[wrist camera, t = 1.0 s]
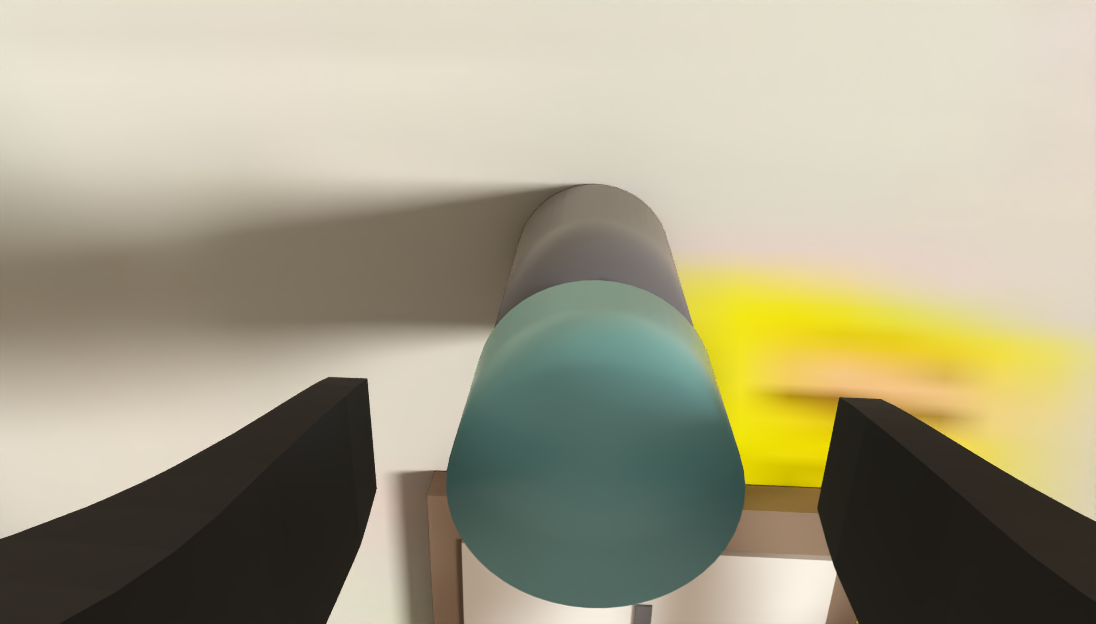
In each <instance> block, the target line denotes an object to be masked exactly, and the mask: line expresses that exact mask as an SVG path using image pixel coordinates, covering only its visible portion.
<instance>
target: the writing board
mask: <svg viewBox="0 0 1096 624" xmlns="http://www.w3.org/2000/svg"><path fill="white" fill-rule="evenodd" d="M446 475H447V472H443V471H435V472H434V475H433V478H432V481H431V484H430V488H429V491H428V494H427V505H428V525H429V544H430V563H431V582H432V601H433V620H434V624H856V621H857V618H856V616H855V614H854V611H853V609H852V607H851V605H850V602H849V600H848V598H847V596H846V593H845V591H844V589H843V587H842V584H841V582H840V580H839V578H838V575H837V573H836V571H835V568H834V565H833V562H832V559H831V556H830V552H829V549H828V546H827V543H826V539H825V536H824V532H823V528H822V525H821V521H820V517H819V514H818V510H817V506H818V501H819V496H820V491H821V488H801V487H779V486H757V485H745V498H744V506H743V510H742V514H741V518H740V521H739V524H738V526H737V528H736V531H735V533H734V535H733V537H732V539H731V540H730V542H729V544H728V545H727V547H726V548H725V550H724V551H723V552H722V553H721V555H720V556H719V557H718V558H717V560H716V561H715V562H714V563H713V564H712V565H711V566H710V567H708V568H707V569H706V570H705V571H704V572H703V573H702V574H700V575H699V576H698V577H696V578H695V579H694V580H692V581H691V582H690V583H688V584H686V585H684V586H682V587H681V588H679V589H677V590H675V591H673V592H671V593H669V594H666V595H664V596H662V597H659V598H656V599H653V600H650V601H647V602H643V603H639V604H634V605H629V606H624V607H613V608H582V607H573V606H567V605H562V604H557V603H552V602H549V601H546V600H543V599H540V598H536V597H534V596H531V595H529V594H527V593H525V592H522V591H520V590H518V589H516V588H514V587H513V586H511V585H509V584H507V583H506V582H504V581H503V580H501V579H500V578H498V577H497V576H496V575H494V574H493V573H492V572H490V571H489V570H488V569H487V568H486V567H485V566H484V565H483V564H482V563H481V562H479V561H478V560H477V558H476V557H475V556H474V555H473V554H472V552H471V551H470V550H469V549H468V548H467V546H466V544H465V543H464V541H463V540H462V538H461V537H460V535H459V533H458V531H457V529H456V527H455V524H454V522H453V520H452V517H451V513H450V510H449V506H448V501H447V492H446Z"/></svg>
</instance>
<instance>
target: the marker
mask: <svg viewBox="0 0 1096 624" xmlns="http://www.w3.org/2000/svg"><path fill="white" fill-rule="evenodd" d="M446 492H447V501H448V506H449V510H450V513H451V517H452V520H453V522H454V524H455V527H456V529H457V531H458V533H459V535H460V537H461V538H462V540H463V541H464V543H465V544H466V546H467V548H468V549H469V550H470V551H471V552H472V554H473V555H474V556H475V557H476V558H477V560H478V561H479V562H481V563H482V564H483V565H484V566H485V567H486V568H487V569H488V570H489V571H490V572H492V573H493V574H494V575H496V576H497V577H498V578H500V579H501V580H503V581H504V582H506V583H507V584H509V585H511V586H513V587H514V588H516V589H518V590H520V591H522V592H525V593H527V594H529V595H531V596H534V597H536V598H540V599H543V600H546V601H549V602H552V603H557V604H562V605H567V606H573V607H582V608H613V607H624V606H629V605H634V604H639V603H643V602H647V601H650V600H653V599H656V598H659V597H662V596H664V595H666V594H669V593H671V592H673V591H675V590H677V589H679V588H681V587H682V586H684V585H686V584H688V583H690V582H691V581H692V580H694V579H695V578H696V577H698V576H699V575H700V574H702V573H703V572H704V571H705V570H706V569H707V568H708V567H710V566H711V565H712V564H713V563H714V562H715V561H716V560H717V558H718V557H719V556H720V555H721V553H722V552H723V551H724V550H725V548H726V547H727V545H728V544H729V542H730V540H731V539H732V537H733V535H734V533H735V531H736V528H737V526H738V524H739V521H740V518H741V514H742V510H743V506H744V498H745V479H744V470H743V466H742V462H741V458H740V454H739V451H738V448H737V445H736V442H735V438H734V435H733V432H732V429H731V426H730V423H729V419H728V416H727V413H726V410H725V407H724V404H723V401H722V397H721V394H720V391H719V388H718V385H717V382H716V378H715V375H714V372H713V369H712V366H711V363H710V359H709V356H708V353H707V351H706V349H705V346H704V344H703V342H702V340H701V338H700V337H699V335H698V333H697V332H696V330H695V329H694V327H693V324H692V320H691V317H690V314H689V310H688V307H687V304H686V300H685V297H684V294H683V290H682V287H681V284H680V280H679V277H678V274H677V270H676V267H675V264H674V260H673V257H672V254H671V250H670V247H669V244H668V240H667V237H666V234H665V231H664V229H663V226H662V224H661V222H660V221H659V219H658V217H657V216H656V215H655V213H654V212H653V211H652V210H651V208H650V207H648V206H647V205H646V204H645V203H644V202H643V201H642V200H640V199H639V198H638V197H636V196H635V195H633V194H631V193H629V192H627V191H625V190H622V189H619V188H617V187H612V186H608V185H599V184H588V185H580V186H575V187H572V188H568V189H565V190H563V191H561V192H559V193H556V194H555V195H553V196H552V197H550V198H548V199H547V200H546V201H545V202H543V203H542V204H541V205H540V206H539V207H538V208H537V209H536V210H535V211H534V212H533V214H532V215H531V217H530V218H529V219H528V221H527V223H526V225H525V227H524V229H523V232H522V234H521V237H520V240H519V244H518V247H517V251H516V254H515V258H514V261H513V265H512V268H511V272H510V275H509V279H508V282H507V286H506V289H505V293H504V296H503V299H502V303H501V306H500V310H499V313H498V317H497V320H496V324H495V327H494V329H493V331H492V332H491V334H490V336H489V338H488V339H487V341H486V343H485V345H484V348H483V350H482V353H481V356H480V359H479V362H478V365H477V369H476V372H475V375H474V378H473V382H472V385H471V388H470V392H469V395H468V398H467V401H466V405H465V408H464V411H463V415H462V418H461V421H460V424H459V428H458V431H457V434H456V438H455V441H454V444H453V448H452V451H451V454H450V458H449V463H448V468H447V475H446Z"/></svg>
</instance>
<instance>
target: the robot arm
mask: <svg viewBox="0 0 1096 624" xmlns="http://www.w3.org/2000/svg"><path fill="white" fill-rule="evenodd" d="M376 489H377V487H376V475H375V463H374V451H373V439H372V428H371V416H370V404H369V392H368V381H367V379H364V378H339V377H328V378H326V379H323V380H321V381H319V382H318V383H316V384H314V385H312V386H310V387H309V388H307V389H305V390H304V391H302V392H300V393H299V394H297V395H295V396H294V397H292V398H291V399H289V400H287V401H286V402H284V403H282V404H281V405H279V406H278V407H276V408H274V409H273V410H271V411H270V412H268V413H266V414H265V415H263V416H261V417H260V418H258V419H256V420H255V421H253V422H252V423H250V424H248V425H247V426H245V427H243V428H242V429H240V430H238V431H237V432H235V433H233V434H232V435H230V436H228V437H226V438H225V439H223V440H221V441H219V442H217V443H216V444H214V445H212V446H210V447H208V448H207V449H205V450H203V451H201V452H199V453H198V454H196V455H194V456H192V457H190V458H189V459H187V460H185V461H183V462H181V463H180V464H178V465H176V466H174V467H172V468H170V469H168V470H166V471H164V472H162V473H160V474H158V475H156V476H154V477H152V478H150V479H148V480H146V481H144V482H142V483H140V484H138V485H135V486H133V487H131V488H129V489H126V490H124V491H122V492H120V493H118V494H115V495H113V496H111V497H109V498H106V499H104V500H102V501H100V502H97V503H95V504H92V505H90V506H88V507H85V508H83V509H80V510H77V511H75V512H72V513H69V514H67V515H64V516H61V517H59V518H56V519H53V520H51V521H48V522H45V523H43V524H40V525H37V526H35V527H32V528H30V529H27V530H24V531H22V532H19V533H16V534H14V535H11V536H8V537H5V538H2V539H0V624H326V623H327V621H328V618H329V616H330V614H331V612H332V609H333V607H334V605H335V603H336V600H337V598H338V596H339V594H340V591H341V589H342V587H343V585H344V582H345V580H346V578H347V575H348V573H349V571H350V569H351V566H352V564H353V562H354V559H355V557H356V555H357V552H358V550H359V548H360V545H361V542H362V539H363V535H364V532H365V529H366V525H367V522H368V519H369V515H370V511H371V508H372V504H373V500H374V497H375V493H376ZM817 510H818V514H819V517H820V521H821V525H822V528H823V532H824V536H825V539H826V543H827V546H828V549H829V552H830V556H831V559H832V562H833V565H834V568H835V571H836V573H837V575H838V578H839V580H840V582H841V584H842V587H843V589H844V591H845V593H846V596H847V598H848V600H849V602H850V605H851V607H852V609H853V611H854V614H855V616H856V618H857V620H858V622H859V624H1096V521H1094V520H1092V519H1090V518H1088V517H1086V516H1084V515H1082V514H1080V513H1078V512H1076V511H1074V510H1072V509H1071V508H1069V507H1067V506H1065V505H1063V504H1061V503H1060V502H1058V501H1056V500H1054V499H1052V498H1050V497H1049V496H1047V495H1045V494H1043V493H1041V492H1039V491H1038V490H1036V489H1034V488H1032V487H1030V486H1029V485H1027V484H1025V483H1023V482H1022V481H1020V480H1018V479H1016V478H1015V477H1013V476H1011V475H1009V474H1008V473H1006V472H1004V471H1003V470H1001V469H999V468H998V467H996V466H994V465H993V464H991V463H989V462H988V461H986V460H984V459H983V458H981V457H979V456H978V455H976V454H974V453H973V452H971V451H969V450H968V449H966V448H965V447H963V446H961V445H960V444H958V443H956V442H955V441H953V440H951V439H950V438H948V437H947V436H945V435H943V434H942V433H940V432H938V431H937V430H935V429H934V428H932V427H930V426H929V425H927V424H925V423H924V422H922V421H920V420H919V419H917V418H915V417H914V416H912V415H910V414H909V413H907V412H905V411H903V410H901V409H900V408H898V407H896V406H894V405H892V404H890V403H888V402H886V401H884V400H882V399H867V398H842V397H839V402H838V407H837V412H836V417H835V422H834V427H833V432H832V437H831V442H830V447H829V452H828V457H827V461H826V466H825V471H824V476H823V481H822V486H821V491H820V496H819V501H818V506H817Z"/></svg>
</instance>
